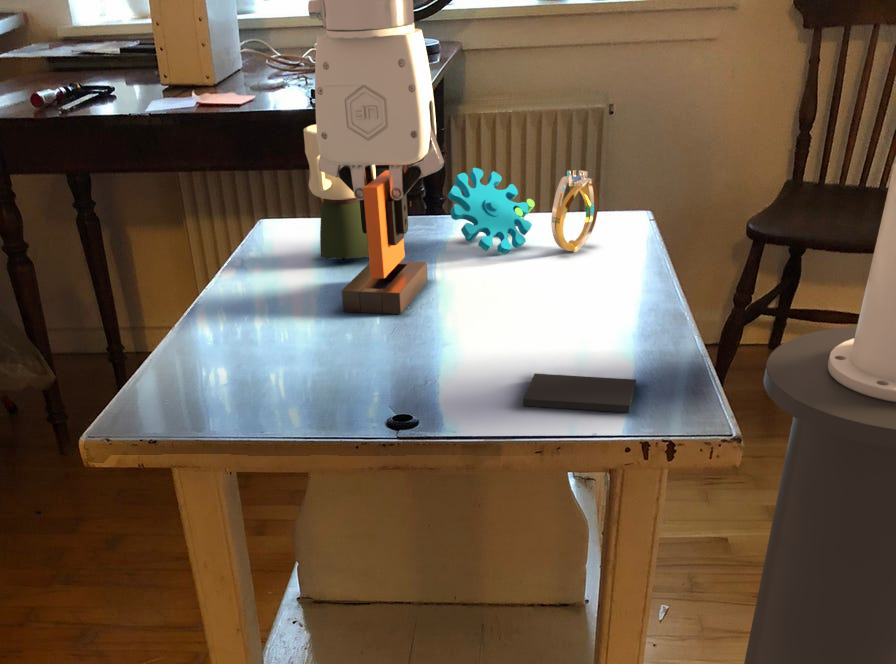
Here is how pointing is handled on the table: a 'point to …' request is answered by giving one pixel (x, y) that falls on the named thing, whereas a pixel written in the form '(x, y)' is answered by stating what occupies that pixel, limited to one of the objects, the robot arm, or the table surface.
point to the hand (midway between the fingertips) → (386, 240)
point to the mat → (580, 393)
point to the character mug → (335, 208)
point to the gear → (490, 211)
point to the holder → (392, 299)
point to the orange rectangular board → (380, 228)
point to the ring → (561, 210)
